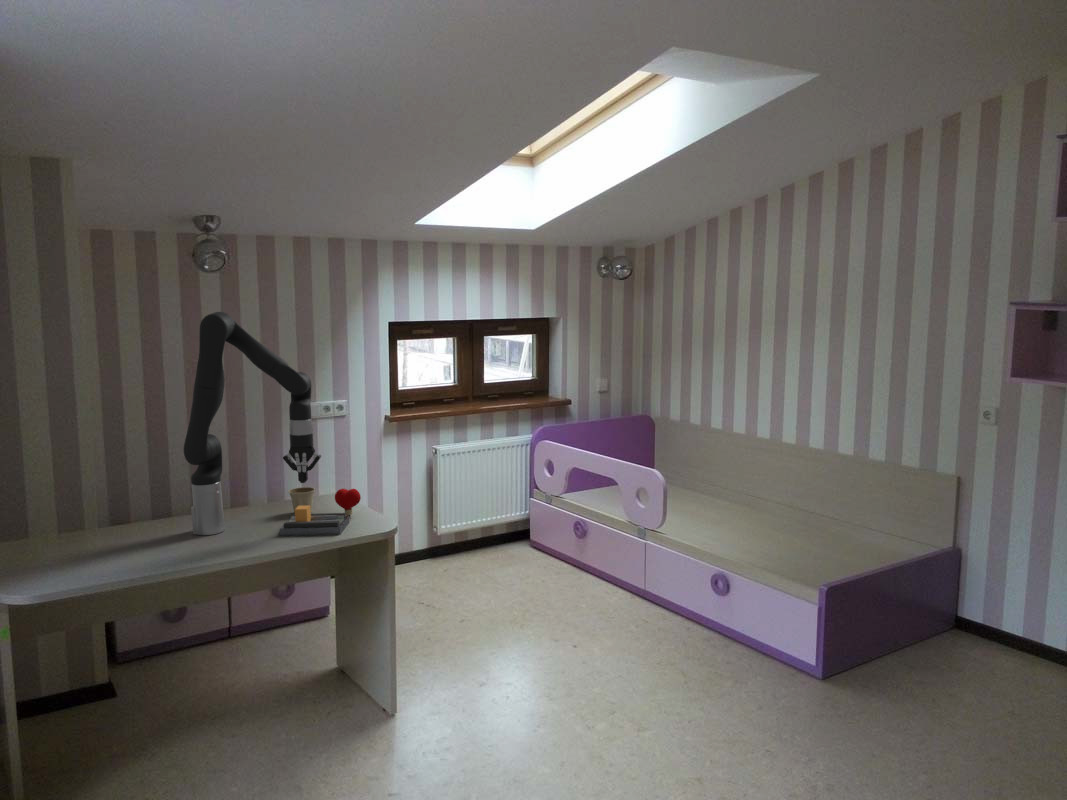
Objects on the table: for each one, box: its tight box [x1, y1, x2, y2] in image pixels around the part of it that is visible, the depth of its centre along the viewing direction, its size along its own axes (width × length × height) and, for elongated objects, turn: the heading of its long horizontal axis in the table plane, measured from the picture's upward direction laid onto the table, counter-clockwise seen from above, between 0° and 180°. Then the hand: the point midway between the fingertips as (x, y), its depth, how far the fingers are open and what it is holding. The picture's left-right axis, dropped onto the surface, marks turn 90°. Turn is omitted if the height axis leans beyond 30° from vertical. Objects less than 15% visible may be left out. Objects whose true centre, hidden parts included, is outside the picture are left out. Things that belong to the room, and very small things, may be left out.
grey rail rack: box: [283, 512, 347, 528], centre depth 277 cm, size 18×12×1 cm, turn 90°
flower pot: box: [287, 486, 316, 514], centre depth 298 cm, size 9×9×9 cm
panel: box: [279, 515, 350, 537], centre depth 277 cm, size 20×14×4 cm
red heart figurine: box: [334, 488, 362, 517], centre depth 292 cm, size 9×7×10 cm
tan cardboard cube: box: [294, 505, 312, 521], centre depth 277 cm, size 4×5×5 cm
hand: (303, 482), depth 276 cm, fingers closed
